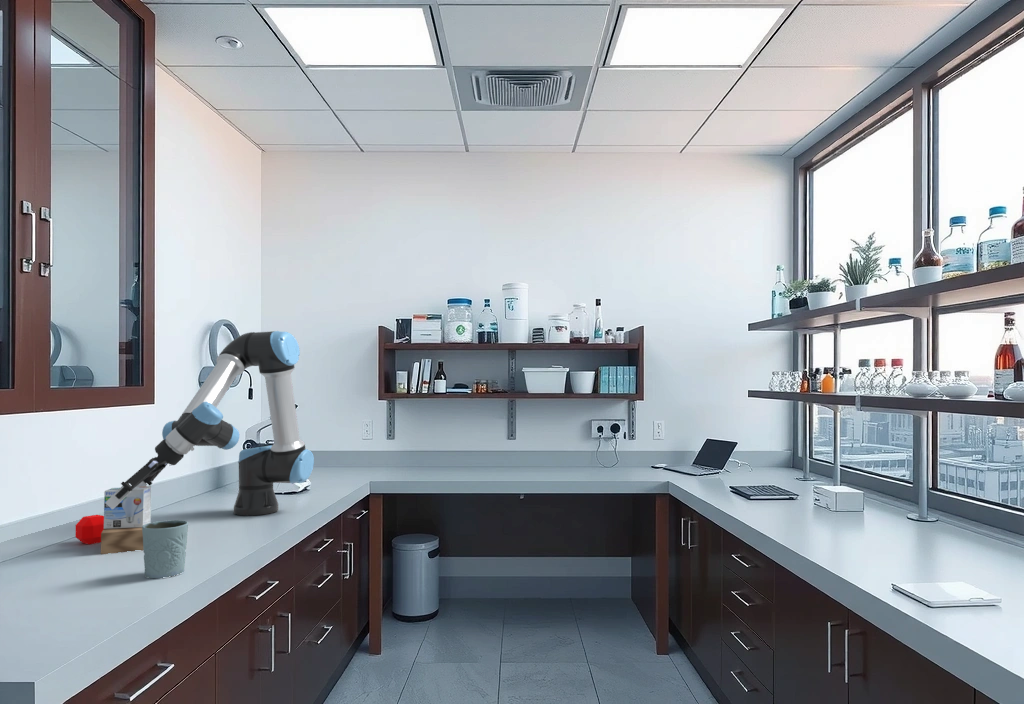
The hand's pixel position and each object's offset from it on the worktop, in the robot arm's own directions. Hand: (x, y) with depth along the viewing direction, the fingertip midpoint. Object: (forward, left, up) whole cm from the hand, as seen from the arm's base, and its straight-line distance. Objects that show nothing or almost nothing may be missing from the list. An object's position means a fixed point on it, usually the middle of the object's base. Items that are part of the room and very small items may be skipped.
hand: (117, 502), depth 203 cm
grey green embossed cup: (+35, +22, -13) cm, 43 cm away
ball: (-9, -10, -13) cm, 19 cm away
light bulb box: (-1, +2, -7) cm, 8 cm away
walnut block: (0, +2, -13) cm, 13 cm away
